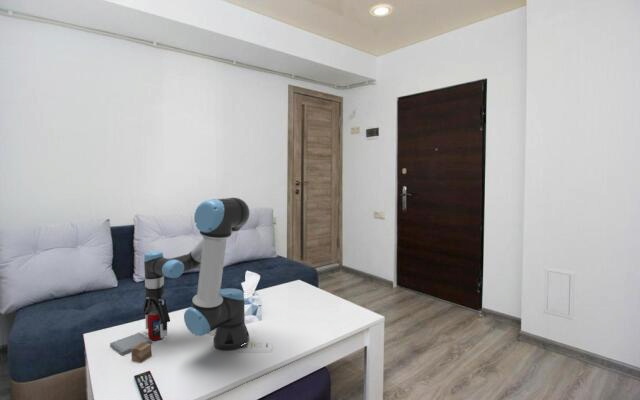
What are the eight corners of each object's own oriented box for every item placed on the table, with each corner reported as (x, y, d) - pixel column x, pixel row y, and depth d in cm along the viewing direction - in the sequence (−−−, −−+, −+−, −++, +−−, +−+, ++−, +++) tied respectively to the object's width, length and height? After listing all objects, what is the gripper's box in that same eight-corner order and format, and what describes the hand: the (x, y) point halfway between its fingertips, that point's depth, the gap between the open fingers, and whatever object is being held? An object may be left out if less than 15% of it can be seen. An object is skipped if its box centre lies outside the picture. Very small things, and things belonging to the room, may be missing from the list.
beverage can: (158, 341, 146) (157, 315, 145) (144, 340, 147) (143, 314, 146) (168, 334, 153) (167, 309, 152) (155, 333, 154) (154, 308, 153)
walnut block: (151, 355, 135) (151, 344, 134) (141, 362, 130) (141, 350, 130) (142, 354, 136) (141, 342, 136) (131, 360, 132) (131, 348, 131)
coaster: (152, 343, 144) (152, 340, 144) (122, 355, 135) (122, 351, 135) (139, 335, 152) (139, 332, 152) (110, 346, 142) (110, 342, 142)
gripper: (177, 289, 144) (179, 337, 145) (149, 278, 159) (151, 321, 160) (160, 294, 138) (162, 344, 139) (133, 282, 153) (135, 327, 154)
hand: (156, 332), depth 150 cm, fingers open, 13 cm apart
